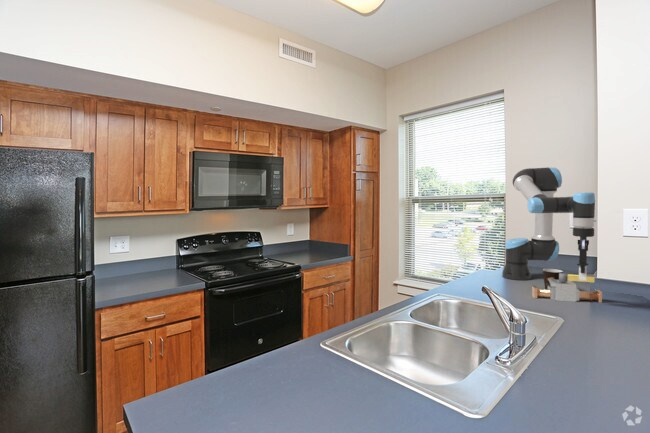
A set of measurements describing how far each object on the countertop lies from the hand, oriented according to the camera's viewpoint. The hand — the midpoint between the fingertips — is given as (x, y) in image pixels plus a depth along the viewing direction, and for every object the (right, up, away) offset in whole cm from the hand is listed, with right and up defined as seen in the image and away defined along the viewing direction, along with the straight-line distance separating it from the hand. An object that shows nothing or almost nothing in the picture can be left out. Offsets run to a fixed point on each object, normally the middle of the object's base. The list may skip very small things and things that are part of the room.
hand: (582, 279), depth 148 cm
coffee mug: (+4, -10, +22) cm, 25 cm away
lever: (+2, -2, +6) cm, 7 cm away
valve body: (-3, -11, +9) cm, 14 cm away
